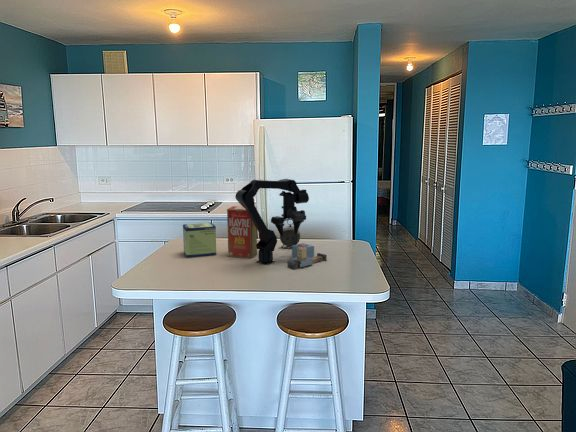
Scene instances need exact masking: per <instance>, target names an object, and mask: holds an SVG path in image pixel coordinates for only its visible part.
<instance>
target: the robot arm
mask: <svg viewBox="0 0 576 432" xmlns="http://www.w3.org/2000/svg"><path fill="white" fill-rule="evenodd" d="M260 189H274V190H275V189H276V190H282V192H280V193H279V194H278V196H280V197H282V202H283V203H282V205H281V209H282V214H281V216H278V215H275V216H271V218H270V223H272V224H273V225H275V227H276V229H277V231H278V233H279V237H280V236H281V237H283V229H284V226H285V222H287V221H292V220H293V221H292V223H293V224H292V226H293V227H294V232H295V234H297V232H298V230H299V229H300V226H301V224H302V223H304V222H305V221H307V215H306V211H305V210H303V209H302V210H298V208H297V206H295V204H296V205H297V204H298V205H299V204H305V203H306V204H307V203H309V200H310V197H309V194H308V192H307V189H300V188H299V187H298V185H297V181H296V180H294V179H291V178H290V179H289V178H281V179H279V180H267V179H266V180H264V179H263V180H262V179H252V180H251V181H249V183H248V184H246V185H244V186H243V187H242V188H241V189H238V190H237V191H236V193H235V196H234V197H235V199H236V201H237V203H239V205H240V206H241V207H244V208H245V209H246V211H247V212H248V214H249V216H250V218H251V220H252V221H253V223H254V225H255V227H256V228H257V233H258V238H259V240H258V241H257V244H256V247H257V250H258V260H256V263H259V264H261V265H262V264H263V265H268V264H272V263H275V260H274V254H273V253H274V251H275V249H276V246H277V243H278V239H277V238H278V236H277V235H276V233H275V231H274V230H272V229H269V228H268V227H267V226H266V224H265V222H264V220H263V218H262V216H261V214H260V213H259V211H258V209H256V208H257V206H256V203H255V199H254V197H255V196H256V195H257V194H258V192H259V190H260Z"/></svg>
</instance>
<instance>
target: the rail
mask: <svg viewBox="0 0 576 432" xmlns="http://www.w3.org/2000/svg"><path fill="white" fill-rule="evenodd" d="M312 258H313V261H312V264H311V265H313V264H317V263H320V262H326V261H328V260H327V254H325V253H320V252H318V253H317V254H316V256H314V257H312ZM286 263H287V265H286V266H287V267H286V268H288V269H292V270H298V268H299V269H300V267H299V263H296V262H293V261H291V260H287V262H286Z"/></svg>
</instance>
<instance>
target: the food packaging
mask: <svg viewBox="0 0 576 432" xmlns="http://www.w3.org/2000/svg"><path fill="white" fill-rule="evenodd" d="M256 209H257V207H256ZM257 210H258V209H257ZM226 211H227V213H226V214H227V216H226V217H227V250H228V253H227V254H228V255H227V256H228V257H229V258H243V259H244V258H246V259H253V258H255V256H258V249H257V247H256V244H257V243H258V230H257V228H256V227H255V225H254V223H253V221H252V220H251V218H250V216H249V214H248V212H247V211H246V209H245V208H244V207H243V206H239V205H237V206H235V205H233V206H232V205H231V207H229V208H227V209H226Z"/></svg>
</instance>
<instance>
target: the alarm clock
mask: <svg viewBox="0 0 576 432" xmlns="http://www.w3.org/2000/svg"><path fill="white" fill-rule="evenodd" d="M291 221H292V223H290V224H289V220H287V221H286V223H287V226H285V227H283V237H281V236H280V235H279V239H280V243H282V246H281V248H284V246H286V247H288V249H289V250H291V248H292V246H293V245H297V244H299V242H300V240H301V232H300V230H299V229H298V232H297V234H295V232H294V225H293V220H291Z"/></svg>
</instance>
